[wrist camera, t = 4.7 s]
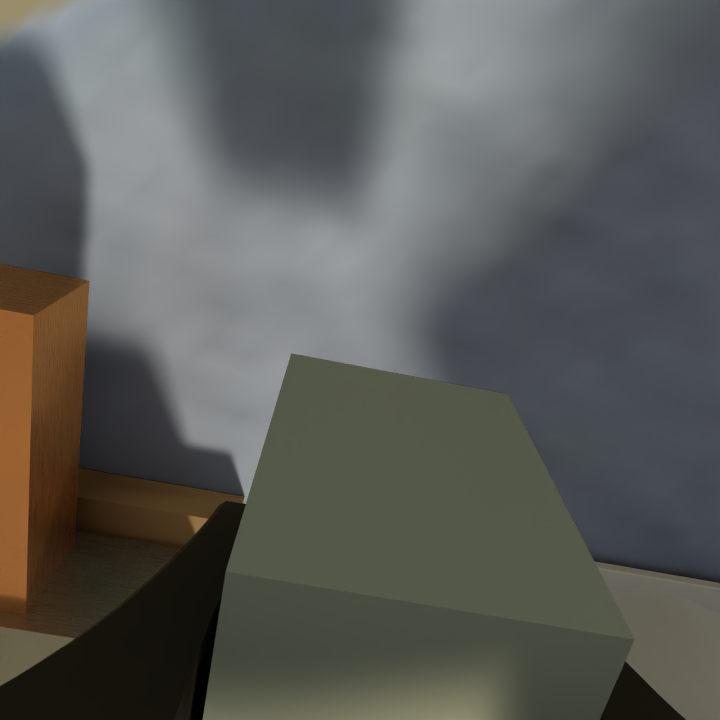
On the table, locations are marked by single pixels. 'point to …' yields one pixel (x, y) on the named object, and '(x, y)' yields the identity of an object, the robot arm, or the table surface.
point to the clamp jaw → (50, 479)
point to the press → (143, 508)
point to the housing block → (408, 564)
